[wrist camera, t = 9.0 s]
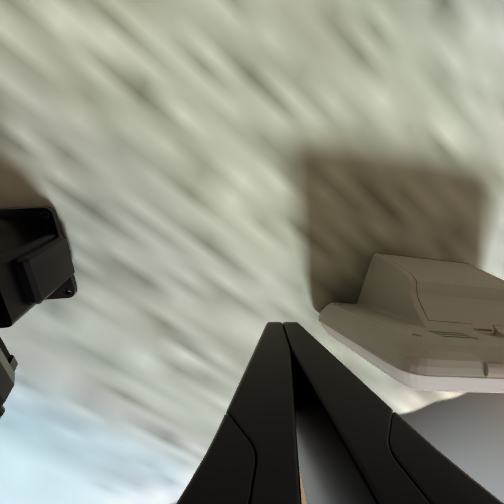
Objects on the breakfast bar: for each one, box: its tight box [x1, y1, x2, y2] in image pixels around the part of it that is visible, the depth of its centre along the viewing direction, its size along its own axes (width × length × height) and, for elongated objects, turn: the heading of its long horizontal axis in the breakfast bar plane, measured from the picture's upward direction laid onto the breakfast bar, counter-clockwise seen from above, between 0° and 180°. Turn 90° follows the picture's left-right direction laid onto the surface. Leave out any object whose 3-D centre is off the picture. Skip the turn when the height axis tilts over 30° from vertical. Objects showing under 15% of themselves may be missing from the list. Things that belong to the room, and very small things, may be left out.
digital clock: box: [319, 253, 504, 393], centre depth 19 cm, size 16×9×11 cm, turn 69°
